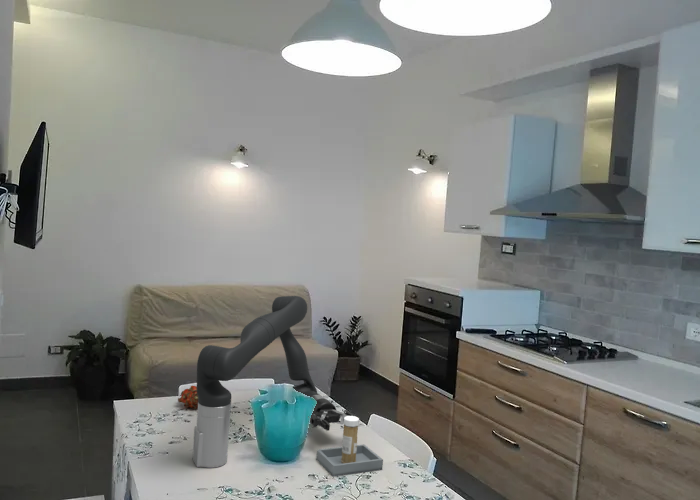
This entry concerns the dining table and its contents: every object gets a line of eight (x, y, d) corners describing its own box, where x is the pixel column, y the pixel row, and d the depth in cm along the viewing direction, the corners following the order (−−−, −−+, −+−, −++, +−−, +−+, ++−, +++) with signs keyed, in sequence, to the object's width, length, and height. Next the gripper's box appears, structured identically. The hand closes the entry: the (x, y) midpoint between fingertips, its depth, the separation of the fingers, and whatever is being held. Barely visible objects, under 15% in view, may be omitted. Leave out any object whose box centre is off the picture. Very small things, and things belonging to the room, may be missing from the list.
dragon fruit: (201, 417, 207) (181, 413, 214) (216, 399, 213) (196, 395, 220) (189, 400, 203) (168, 396, 211) (204, 382, 209) (184, 379, 216)
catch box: (332, 476, 163) (333, 466, 163) (316, 459, 174) (316, 449, 174) (382, 469, 171) (383, 459, 170) (363, 453, 181) (364, 444, 181)
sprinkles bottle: (358, 464, 172) (362, 419, 171) (346, 466, 169) (349, 421, 169) (350, 458, 176) (353, 414, 175) (337, 460, 173) (340, 416, 172)
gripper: (301, 399, 189) (321, 416, 175) (340, 396, 196) (362, 412, 181) (299, 422, 190) (319, 440, 175) (339, 418, 196) (361, 436, 181)
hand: (341, 426), depth 178 cm, fingers open, 8 cm apart
